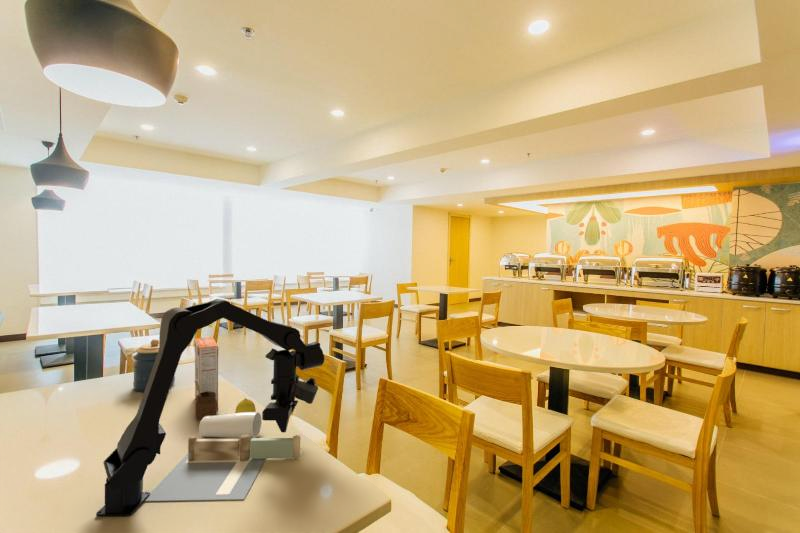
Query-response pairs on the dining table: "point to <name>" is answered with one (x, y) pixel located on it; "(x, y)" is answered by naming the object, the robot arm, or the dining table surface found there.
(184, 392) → the dining table surface
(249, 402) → the lemon
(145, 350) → the canister
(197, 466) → the card
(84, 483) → the dining table surface
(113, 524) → the dining table surface
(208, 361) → the cracker box
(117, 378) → the dining table surface
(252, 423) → the white tumbler
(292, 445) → the fence panel
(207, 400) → the utensil holder
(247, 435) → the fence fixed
